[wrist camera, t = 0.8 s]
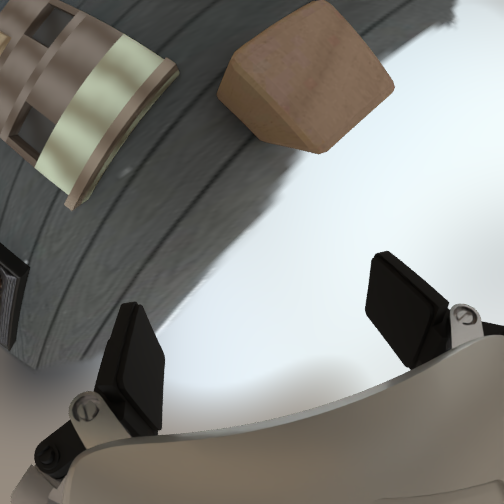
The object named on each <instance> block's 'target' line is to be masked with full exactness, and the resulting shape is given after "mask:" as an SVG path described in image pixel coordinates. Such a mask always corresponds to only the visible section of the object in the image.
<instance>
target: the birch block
mask: <svg viewBox="0 0 504 504" xmlns="http://www.w3.org/2000/svg"><path fill="white" fill-rule="evenodd" d="M10 40H11V37H9V36H7V35H6V34H4V33H3V32H1V31H0V55H1V54H2V52H3V50H4V49H5V47H6V46H7V44H8V43H9V41H10Z"/></svg>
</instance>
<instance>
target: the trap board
mask: <svg viewBox="0 0 504 504" xmlns="http://www.w3.org/2000/svg"><path fill="white" fill-rule="evenodd" d="M0 31H1V32H3V33H4V34H6V35H7V36H9V37H11V40H10V41H9V43H8V44H7V46H6V47H5V49H4V50H3V52H2V54H1V55H0V138H1V139H3V140H4V141H5V142H6V143H7V144H8V145H9V146H10V147H11V148H13V149H14V150H15V151H16V152H17V153H18V154H19V155H21V156H22V157H23V158H24V159H25V160H26V161H27V162H29V163H30V164H31V165H32V166H33V167H35V168H36V169H37V170H38V171H39V172H41V173H42V174H43V175H44V176H45V177H47V178H48V179H49V180H50V181H52V182H53V183H54V184H55V185H57V186H58V187H59V188H60V189H62V190H63V191H64V192H65V193H67V194H68V195H69V196H68V198H67V200H66V202H65V204H64V205H65V206H66V207H68V208H69V209H70V210H72V211H73V210H74V209H75V208H77V207H78V206H79V205H81V204H82V203H84V202H85V201H86V200H88V199H89V197H90V195H91V194H92V192H93V190H94V188H95V187H96V185H97V183H98V182H99V180H100V178H101V177H102V175H103V173H104V172H105V170H106V169H107V167H108V166H109V164H110V162H111V161H112V159H113V158H114V156H115V155H116V153H117V152H118V150H119V149H120V148H121V146H122V145H123V143H124V142H125V140H126V139H127V138H128V136H129V135H130V133H131V132H132V131H133V129H134V128H135V127H136V125H137V124H138V123H139V121H140V120H141V119H142V118H143V116H144V115H145V114H146V113H147V111H148V110H149V109H150V108H151V106H152V105H153V104H154V103H155V101H156V100H157V99H158V98H159V97H160V96H161V94H162V93H163V92H164V91H165V90H166V89H167V88H168V86H169V85H170V84H171V83H172V82H173V81H174V80H175V79H176V78H177V77H178V75H179V74H180V73H179V70H178V68H177V65H176V64H175V63H174V62H173V61H171V60H170V59H168V58H167V57H166V58H165V59H163V58H161V57H160V56H158V55H157V54H155V53H154V52H152V51H150V50H149V49H147V48H146V47H144V46H143V45H141V44H140V43H138V42H136V41H135V40H133V39H131V38H130V37H128V36H126V35H125V34H123V33H121V32H120V31H118V30H116V29H114V28H113V27H111V26H109V25H107V24H106V23H104V22H102V21H100V20H98V19H96V18H94V17H92V16H91V15H89V14H87V13H85V12H83V11H81V10H79V9H76V8H74V7H72V6H70V5H68V4H66V3H64V2H61V1H59V0H10V1H9V2H8V3H7V5H6V6H5V7H4V9H3V10H2V11H1V13H0Z"/></svg>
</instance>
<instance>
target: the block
mask: <svg viewBox="0 0 504 504" xmlns="http://www.w3.org/2000/svg"><path fill="white" fill-rule="evenodd" d="M394 88H395V86H394V83H393V80H392V79H391V77H390V76H389V74H388V73H387V71H386V70H385V69H384V67H383V66H382V64H381V63H380V61H379V60H378V59H377V57H376V56H375V55H374V53H373V52H372V51H371V49H370V48H369V47H368V46H367V44H366V43H365V42H364V41H363V39H362V38H361V37H360V36H359V35H358V33H357V32H356V31H355V30H354V29H353V27H352V26H351V25H350V24H349V23H348V22H347V21H346V20H345V18H344V17H343V16H342V15H341V14H340V13H339V12H338V11H337V10H336V9H335V8H334V7H333V6H332V5H331V4H330V3H328V2H326V1H325V0H320V1H312V2H310V3H309V4H307V5H305V6H303V7H301V8H300V9H298V10H296V11H294V12H293V13H291V14H289V15H288V16H286V17H284V18H283V19H281V20H280V21H278V22H276V23H275V24H273V25H272V26H270V27H269V28H267V29H266V30H264V31H263V32H261V33H260V34H258V35H257V36H256V37H254V38H253V39H251V40H250V41H249V42H247V43H246V44H244V45H243V46H242V47H240V48H239V49H238V50H236V51H235V52H234V54H233V56H232V58H231V60H230V62H229V64H228V67H227V69H226V71H225V74H224V76H223V79H222V81H221V84H220V86H219V89H218V91H217V97H218V99H219V100H220V101H221V102H222V103H223V104H224V105H225V106H226V107H227V108H228V109H230V110H231V111H232V112H233V113H234V114H235V115H236V116H237V117H238V118H239V119H240V120H241V121H242V122H243V123H244V124H245V125H246V126H247V127H248V128H249V129H250V130H251V131H252V132H253V133H254V134H255V135H256V136H257V137H258V138H259V140H261V141H264V142H267V143H272V144H277V145H281V146H286V147H290V148H295V149H299V150H303V151H307V152H311V153H315V154H321V153H324V152H327V151H328V150H329V149H330V148H331V147H333V146H334V145H335V144H336V143H337V142H338V141H339V140H340V139H341V138H342V137H343V136H345V134H347V133H348V132H349V131H350V130H351V129H352V128H353V127H355V126H356V125H357V124H358V123H359V122H360V121H361V120H362V119H363V118H365V117H366V116H367V115H368V114H369V113H370V112H371V111H372V110H373V109H374V108H376V107H377V106H378V105H379V104H380V103H381V102H383V101H384V100H385V99H386V98H387V97H388V96H389V95H390V94H391V93H392V92H393V91H394Z"/></svg>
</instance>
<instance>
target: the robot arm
mask: <svg viewBox="0 0 504 504" xmlns="http://www.w3.org/2000/svg"><path fill="white" fill-rule="evenodd" d="M448 305H449V302H448V301H447V300H446V299H445V298H444V297H443V296H442V295H440V294H439V293H438V292H437V291H436V290H435V289H434V288H433V287H431V286H430V285H429V284H428V283H427V282H426V281H425V280H423V279H422V278H421V277H420V276H419V275H417V274H416V273H415V272H414V271H413V270H411V269H410V268H409V267H408V266H406V265H405V264H404V263H403V262H402V261H400V260H399V259H398V258H397V257H395V256H394V255H393V254H391V253H390V252H389V251H385V252H380V253H377V254H375V256H374V258H372V260H371V269H370V277H369V285H368V292H367V299H366V306H365V312H366V315H367V316H368V318H369V319H370V320H371V322H372V323H373V324H374V325H375V327H376V328H377V329H378V331H379V332H380V333H381V335H382V336H383V337H384V339H385V340H386V341H387V342H388V344H389V345H390V346H391V348H392V349H393V351H394V352H395V353H396V355H397V356H398V357H399V359H400V360H401V361H402V363H403V364H404V365H405V366H406V367H409V368H410V369H411V370H410V371H408V372H406V373H404V374H402V375H400V376H398V377H396V378H393V379H391V380H389V381H387V382H384V383H382V384H379V385H377V386H375V387H372V388H370V389H367V390H365V391H362V392H360V393H357V394H354V395H352V396H349V397H346V398H343V399H340V400H338V401H335V402H332V403H329V404H326V405H322V406H319V407H316V408H313V409H309V410H306V411H302V412H299V413H295V414H291V415H287V416H283V417H279V418H275V419H271V420H266V421H262V422H257V423H252V424H247V425H241V426H236V427H230V428H223V429H217V430H208V431H200V432H192V433H183V434H171V435H158V430H161V429H162V405H163V382H164V367H165V356H164V353H163V350H162V348H161V346H160V344H159V342H158V340H157V338H156V336H155V333H154V331H153V329H152V327H151V324H150V322H149V320H148V318H147V315H146V313H145V311H144V308H143V306H142V305H138V304H137V302H129V303H123V304H122V305H121V307H120V310H119V313H118V316H117V319H116V322H115V325H114V328H113V331H112V334H111V337H110V339H109V340H108V342H107V345H106V348H105V351H104V355H103V358H102V362H101V365H100V369H99V373H98V376H97V380H96V384H95V388H94V392H92V391H87V392H83V393H81V394H79V395H77V396H76V397H75V398H74V399H73V401H72V402H71V403H70V406H69V417H70V420H69V421H68V422H66V423H65V424H64V425H63V426H62V427H60V428H59V429H57V430H56V431H55V432H54V433H52V434H51V435H50V436H48V437H47V438H46V439H45V440H43V441H42V442H41V443H40V444H39V445H38V446H37V448H36V450H35V454H34V459H35V463H36V465H35V466H33V465H30V467H29V468H28V470H27V471H26V473H25V474H24V476H23V477H22V479H21V480H20V482H19V483H18V485H17V486H16V488H15V489H14V491H13V492H12V495H11V504H504V326H501V325H496V324H492V323H487V322H482V321H481V317H480V315H479V313H478V312H477V310H475V309H474V308H473V307H471V306H469V305H466V304H456V305H454V306H453V307H452V308H451V309H450V310H449V309H448Z"/></svg>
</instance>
